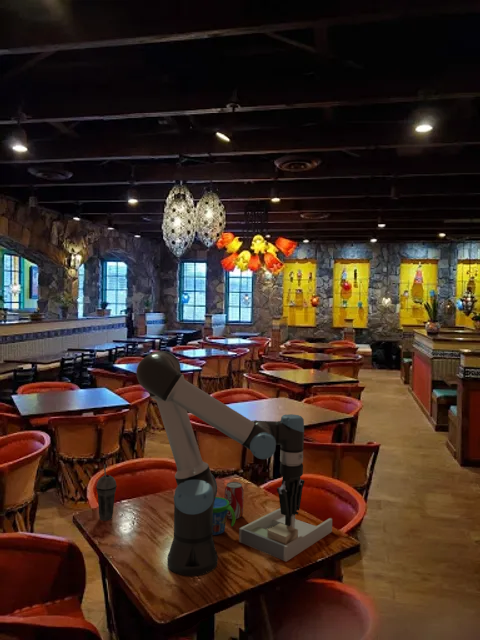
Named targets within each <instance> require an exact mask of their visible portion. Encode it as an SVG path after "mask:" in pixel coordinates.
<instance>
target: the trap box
mask: <svg viewBox="0 0 480 640" xmlns="http://www.w3.org/2000/svg"><path fill="white" fill-rule="evenodd" d="M280 523H281V524H284V525H285V515H283V514H281V509H280V507H279V508H277V509H275V510H273V511H271V512H269V513H267V514H266V515H265V514H264V515H263V516H262V517H259V518H258V519H257V518H256V519H255V520H253V521H251V522H249V523H248V524H246V525H243V526H241V527H239V528H238V542H239V543H241V544H243V545H245V546H247V547H251V548H252V549H255V550H257V551H260V552H262V553H265V554H267V555H270V556H272V557H274V558H277V559H279V560H282V561H283V562H288V561H289V560H291V559H293V558H294V557H296V556H297V555H298V554H300V553H302V552H303V551H305V550H307V549H308V548H310V547H311V546H313V545H314V544H315V543H317V542H319V541H320V540H321V539H323V538H325V537H326V536H327V535H329V534H331V533H332V532H333V518H332V517H329V518H327V519H326V520H324V521H323V522H320V524H318V525H314V524H311V523H307V522H305V521H302V520H299V519H296V518H295V529H298V538H296V539H295V540H293V541H291V542H290V543H288V544H286V545H285V544H282V543H279V542H277V541H274V540H272V539H269V538H267V534H268V530H269V529H271V528H272V526H273V527H274V526H276V525H278V524H280Z"/></svg>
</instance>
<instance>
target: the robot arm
mask: <svg viewBox="0 0 480 640" xmlns="http://www.w3.org/2000/svg"><path fill="white" fill-rule="evenodd" d="M136 367H137V368H136V378H137V382H138V383H139V385H140V387H142V388H143V389H144V390H146V391H147V392H148V395H149V398H151V400H152V399H153V400H154V401H156V404H157V408H158V411H159V414H160V417H161V420H162V423H163V427H164V429H165V434H166V437H167V440H168V443H169V447H170V449H171V453H172V456H173V459H174V462H175V465H176V466H175V467H176V472H175V474H174V479H175V482H176V488H175V489H174V496H173V503H174V507H173V508H174V509H173V511H174V513H173V539H172V542H171V546H170V549H169V551H168V553H167V561H166V562H167V563H166V564H167V565H166V566H167V567H168V570H170V571H172V573H174V574H178V575H181V576H190V577H192V576H195V577H196V576H201V575H205V574H209V573H210V572H212V571H214V570H215V569H216V567H218V562H219V561H218V552H217V549H216V546H215V542H214V539H213V535H212V524H213V507H214V502H215V497H217V493H218V483H217V480H216V478H215V476H214V475H213V474H212V472H211V468H210V466H209V463H208V462H206V461H203V458H202V455H201V452H200V449H199V445H198V442H197V440H196V439H197V438H196V435H195V433H194V430H193V426H192V424H191V420H190V416H189V414H191V415H194V417H196V418H198V419H200V420H202V421H203V422H204V423H206V424H208V425H209V426H211V427H213V428H214V429H216V430H218V431H219V432H221V433H223V434H224V435H225V436H227V437H228V438H230V439H232V440H234V441H235V442H237V443H239V444H240V445H241V446H243V447H244V448H246V449H248V450H250V452H251V454H252V455H253V456H254V457H255V458H257V459H260V460H267V459H270V458H271V457H272V456H273V455H274V454H275V452H276V446H278V445H280V452H279V453H280V454H279V455H280V456H279V461H280V463H279V474H280V475H281V477H282V479H281V486H279V487H277V488H276V492H277V494H278V499H279V508H280V509H281V514H283V515H285V525H287V526H289V527H292V528H295V519H296V515H297V516H298V515H299V511H300V508H301V503H302V502H301V501H302V494H303V488H304V485H305V482H306V481H305V480H304V479H302V478H301V477H302V476H303V475H304V464H303V463H304V445H305V443H304V441H305V419H304V418H303V416H301V415H299V414H293V413H292V414H283V415H282V416H281V418H280V420H277V421H276V420H275V421H274V420H273V421H272V420H257V419H255V420H251V419H249V418H247V417H246V416H244V415H242V414H241V413H239V412H238V411H236V410H235V409H233V408H232V407H229V406H228V405H226V404H225V403H223V402H222V401H220V400H219V399H217V398H215V397H214V396H212V395H210V394H209V393H207V392H206V391H204V390H202V389H200V388H199V387H197V386H196V385H194V384H193V383H191V382H189V381H188V380H186V379H185V376H184V374H182V373H181V370H182V369H181V363H180V361H179V359H178V358H177V356H176V355H174V354H173V353H171V352H170V351H167V350H166V351H164V350H159V351H154V352H152V353H150V354H149V355H146V356H145V357H143V358H142V359H141V360H140V361H139V363H138V364H137V366H136Z"/></svg>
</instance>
